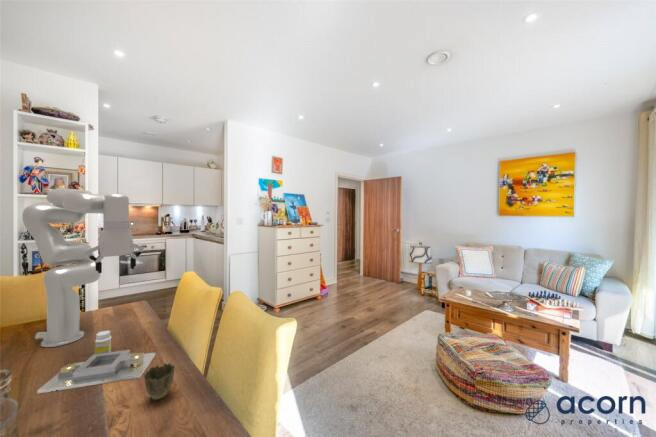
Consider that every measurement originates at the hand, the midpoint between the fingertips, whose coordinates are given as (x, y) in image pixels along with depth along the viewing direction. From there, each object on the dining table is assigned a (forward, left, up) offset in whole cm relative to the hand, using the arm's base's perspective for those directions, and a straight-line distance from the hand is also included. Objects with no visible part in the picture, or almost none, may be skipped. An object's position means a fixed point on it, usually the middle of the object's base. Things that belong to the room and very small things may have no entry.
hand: (116, 270), depth 96 cm
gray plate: (+2, -12, -32) cm, 35 cm away
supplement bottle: (-4, +1, -33) cm, 33 cm away
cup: (+24, -31, -33) cm, 51 cm away
